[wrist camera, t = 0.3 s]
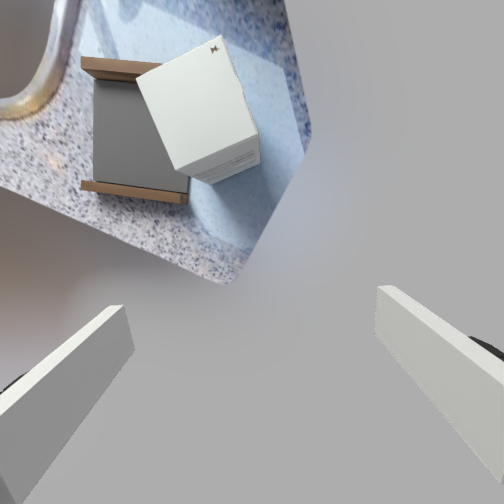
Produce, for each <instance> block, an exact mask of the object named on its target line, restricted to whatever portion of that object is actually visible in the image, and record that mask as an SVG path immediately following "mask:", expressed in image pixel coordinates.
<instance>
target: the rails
mask: <svg viewBox="0 0 504 504" xmlns="http://www.w3.org/2000/svg"><path fill="white" fill-rule="evenodd" d="M161 65H163V64H160V63H149V62H138V61H127V60H116V59H105V58H94V57H83V56H81V69H83V70H84V71H85V72H87V73H88V74H90V75H91V76H92V77H94V78H95V79H96V80H105V81H115V82H125V83H136V84H137V81H136V78H137V77H139V76H141V75H143V74H145V73H147V72H149V71H150V70H152V69H155V68H157V67H159V66H161ZM81 190H85V191H93V192H100V193H107V194H114V195H121V196H129V197H136V198H143V199H150V200H158V201H165V202H172V203H179V204H187V200H188V195H186V194H181V193H174V192H166V191H159V190H151V189H144V188H136V187H129V186H122V185H114V184H107V183H99V182H92V181H85V180H81Z"/></svg>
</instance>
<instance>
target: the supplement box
mask: <svg viewBox="0 0 504 504" xmlns="http://www.w3.org/2000/svg"><path fill="white" fill-rule="evenodd" d="M136 81H137V84H138V86H139V88H140V90H141V93H142V95H143V97H144V100H145V102H146V104H147V106H148V109H149V111H150V113H151V116H152V118H153V120H154V123H155V125H156V127H157V130H158V132H159V134H160V136H161V139H162V141H163V143H164V146H165V148H166V150H167V152H168V155H169V157H170V159H171V161H172V164H173V166H174V168H175V170H176V171H178V172H181V173H183V174H185V175H188V176H190V177H193V178H195V179H198V180H200V181H202V182H205V183H207V184H210V185H212V184H214V183H217V182H219V181H221V180H224V179H226V178H228V177H230V176H233V175H235V174H237V173H240V172H242V171H244V170H247V169H249V168H251V167H253V166H256V165H258V164H260V146H259V133H258V130H257V127H256V125H255V122H254V119H253V117H252V114H251V111H250V109H249V106H248V103H247V100H246V98H245V95H244V92H243V89H242V86H241V83H240V81H239V79H238V76H237V73H236V71H235V68H234V65H233V63H232V60H231V57H230V55H229V52H228V49H227V46H226V44H225V41H224V38H223V36H222V35H220V36H218V37H216V38H214V39H212V40H210V41H208V42H206V43H205V44H203V45H201V46H199V47H197V48H195V49H193V50H191V51H189V52H187V53H185V54H183V55H181V56H179V57H177V58H175V59H173V60H171V61H169V62H167V63H165V64H163V65H161V66H159V67H157V68H155V69H152V70H150V71H149V72H147V73H145V74H143V75H141V76H139V77H137V78H136Z"/></svg>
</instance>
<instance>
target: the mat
mask: <svg viewBox="0 0 504 504" xmlns="http://www.w3.org/2000/svg"><path fill="white" fill-rule="evenodd" d="M93 180H94V181H101V182H108V183H116V184H123V185H131V186H138V187H146V188H153V189H160V190H168V191H175V192H183V193H188V187H189V176H188V175H185V174H183V173H181V172H178V171H176V170H175V168H174V166H173V164H172V161H171V159H170V157H169V155H168V152H167V150H166V148H165V146H164V143H163V141H162V139H161V136H160V134H159V132H158V130H157V127H156V125H155V123H154V120H153V118H152V116H151V113H150V111H149V109H148V106H147V104H146V102H145V100H144V97H143V95H142V93H141V90H140V88H139V86H138V84H136V83H125V82H115V81H105V80H95V79H94V126H93Z"/></svg>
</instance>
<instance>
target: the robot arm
mask: <svg viewBox="0 0 504 504" xmlns="http://www.w3.org/2000/svg"><path fill="white" fill-rule="evenodd" d="M375 319H376V320H375V335H376V336H377V337H378V338H379V339H380V341H381V342H382V343H383V344H384V345H385V347H386V348H387V349H388V350H389V351H390V353H391V354H392V355H393V356H394V357H395V358H396V360H397V361H398V362H399V363H400V364H401V366H402V367H403V368H404V369H405V370H406V372H407V373H408V374H409V375H410V377H411V378H412V379H413V380H414V381H415V382H416V384H417V385H418V386H419V387H420V388H421V390H422V391H423V392H424V393H425V394H426V396H427V397H428V398H429V399H430V400H431V402H432V403H433V404H434V405H435V406H436V408H437V409H438V410H439V411H440V412H441V413H442V415H443V416H444V417H445V418H446V419H447V420H448V422H449V423H450V424H451V426H452V427H453V428H454V429H455V430H456V431H457V432H458V434H459V435H460V436H461V437H462V439H463V440H464V441H465V442H466V443H467V445H468V446H469V447H470V448H471V449H472V451H473V452H474V453H475V454H476V455H477V457H478V458H479V459H480V460H481V461H482V463H483V464H484V465H485V466H486V467H487V468H488V470H489V471H490V472H491V473H492V474H493V476H494V477H495V478H496V479H497V480H498V482H499V483H500V484H504V353H503V352H501V351H499V350H498V349H497V348H495V347H493V346H492V345H490V344H488V343H485V342H483V341H481V340H479V339H476V338H474V337H472V336H471V337H467V336H466V335H464V334H462V333H461V332H460V331H458V330H457V329H455V328H454V327H452V326H451V325H450V324H448V323H447V322H445V321H444V320H442V319H441V318H440V317H438V316H437V315H435V314H434V313H432V312H431V311H429V310H428V309H427V308H425V307H424V306H422V305H421V304H419V303H418V302H416V301H415V300H413V299H412V298H411V297H409V296H408V295H406V294H405V293H403V292H402V291H401V290H399V289H398V288H396V287H395V286H393V285H388V286H378V287H377V304H376V318H375ZM134 350H135V348H134V344H133V340H132V336H131V332H130V328H129V324H128V320H127V316H126V312H125V308H124V305H118V306H117V305H116V306H109V307H107V308H106V309H105V310H104V311H103V312H101V313H100V314H99V315H98V316H96V318H94V319H93V320H92V321H90V322H89V323H88V324H87V325H85V326H84V327H83V328H82V329H81V330H80V331H78V332H77V333H76V334H74V335H73V336H72V337H71V338H70V339H68V340H67V341H66V342H65V343H63V344H62V345H61V346H60V347H58V348H57V349H56V350H55V351H54V352H52V353H51V354H50V355H49V356H48V357H46V358H45V359H44V360H42V361H41V362H40V363H39V364H38V365H37V366H35V367H34V368H33V369H31V370H30V371H28V372H26V373H25V374H23V375H21V376H20V377H18V378H17V379H16V380H14V381H13V382H12V383H11V384H9V385H8V386H7V387H6V388H4V389H3V392H0V504H22V503H23V502H24V500H25V499H26V497H27V496H28V495H29V494H30V492H31V491H32V489H33V488H34V487H35V485H36V484H37V483H38V481H39V480H40V479H41V477H42V476H43V474H44V473H45V472H46V470H47V469H48V468H49V466H50V465H51V463H52V462H53V461H54V460H55V458H56V457H57V455H58V454H59V453H60V451H61V450H62V449H63V447H64V446H65V444H66V443H67V442H68V440H69V439H70V438H71V436H72V435H73V434H74V432H75V431H76V430H77V428H78V427H79V425H80V424H81V423H82V421H83V420H84V419H85V417H86V416H87V415H88V413H89V412H90V410H91V409H92V408H93V406H94V405H95V403H96V402H97V401H98V400H99V398H100V397H101V395H102V394H103V393H104V391H105V390H106V389H107V387H108V386H109V385H110V383H111V382H112V380H113V379H114V378H115V376H116V375H117V374H118V372H119V371H120V370H121V368H122V367H123V366H124V364H125V363H126V361H127V360H128V359H129V357H130V356H131V355H132V353H133V351H134Z"/></svg>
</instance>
